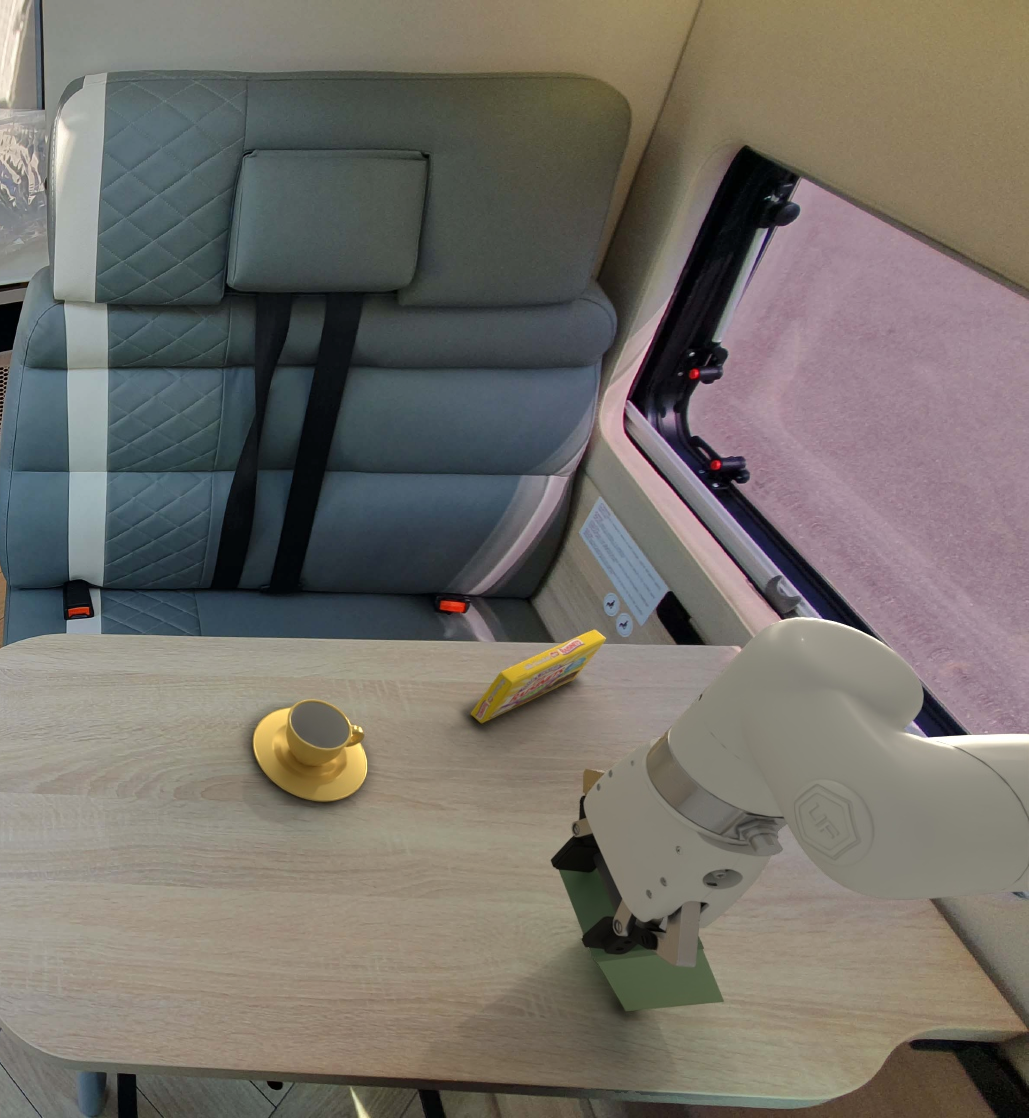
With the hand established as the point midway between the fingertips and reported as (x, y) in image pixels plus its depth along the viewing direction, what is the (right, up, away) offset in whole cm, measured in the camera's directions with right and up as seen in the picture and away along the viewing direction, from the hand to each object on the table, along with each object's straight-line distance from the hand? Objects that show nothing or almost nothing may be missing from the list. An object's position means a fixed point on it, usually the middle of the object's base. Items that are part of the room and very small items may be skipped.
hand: (586, 903), depth 64 cm
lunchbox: (+10, -7, +5) cm, 13 cm away
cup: (-14, +6, +23) cm, 28 cm away
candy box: (+13, +11, +29) cm, 34 cm away
